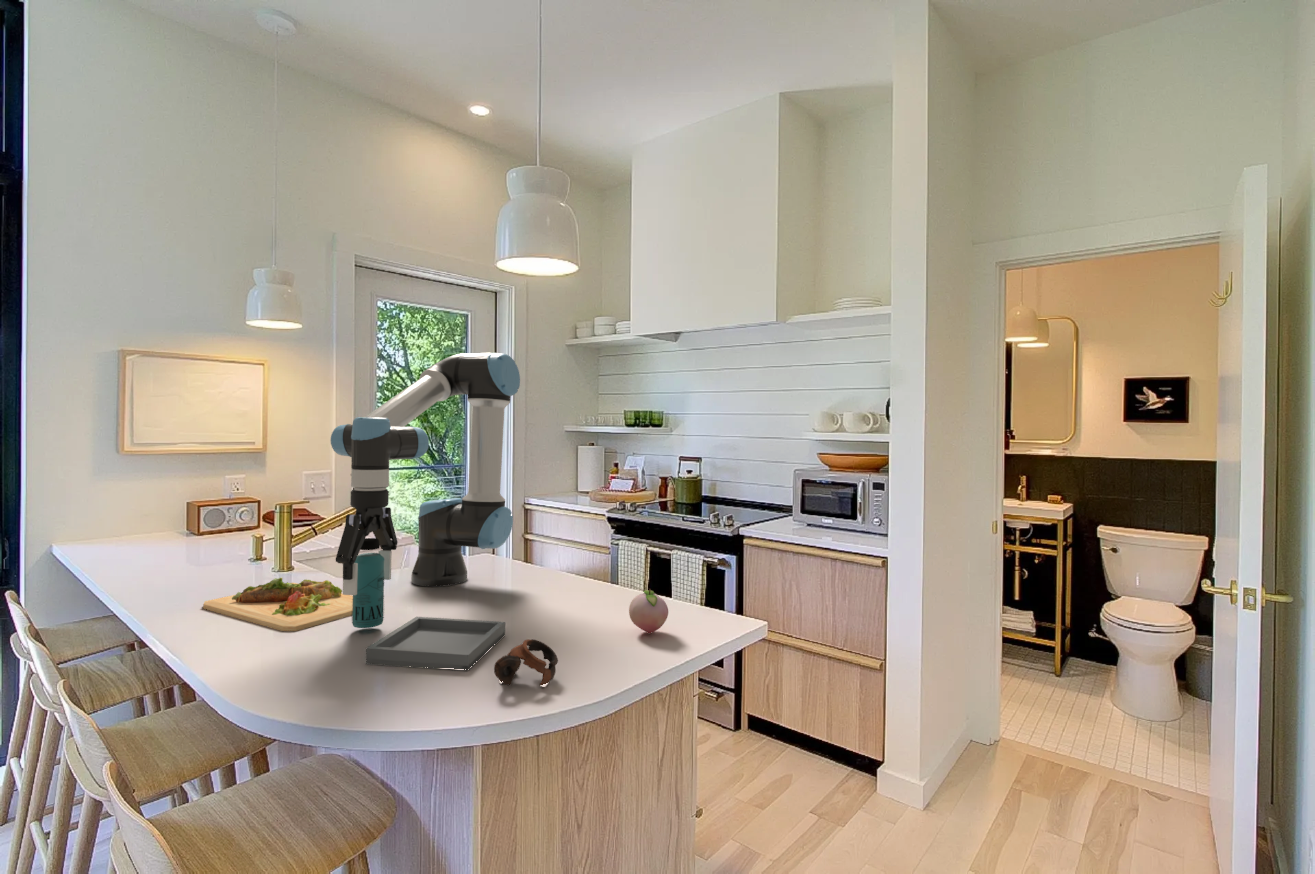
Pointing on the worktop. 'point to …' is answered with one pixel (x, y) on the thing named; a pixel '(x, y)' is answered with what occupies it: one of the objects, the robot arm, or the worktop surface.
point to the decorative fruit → (648, 611)
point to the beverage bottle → (369, 587)
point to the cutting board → (286, 604)
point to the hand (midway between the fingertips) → (368, 586)
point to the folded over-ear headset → (526, 661)
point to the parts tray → (436, 643)
